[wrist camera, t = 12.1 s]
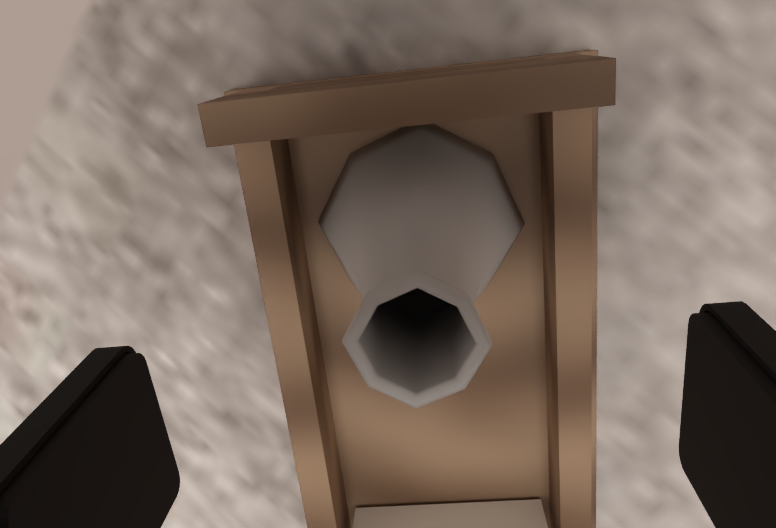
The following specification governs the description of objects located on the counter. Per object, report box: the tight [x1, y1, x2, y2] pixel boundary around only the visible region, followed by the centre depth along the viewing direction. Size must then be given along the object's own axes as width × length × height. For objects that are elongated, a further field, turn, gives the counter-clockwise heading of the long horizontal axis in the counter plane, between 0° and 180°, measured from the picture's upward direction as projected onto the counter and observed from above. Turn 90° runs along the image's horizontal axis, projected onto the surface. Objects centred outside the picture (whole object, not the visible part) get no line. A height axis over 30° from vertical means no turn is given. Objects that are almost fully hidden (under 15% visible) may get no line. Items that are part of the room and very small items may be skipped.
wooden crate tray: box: [198, 50, 616, 528], centre depth 23 cm, size 22×13×6 cm, turn 6°
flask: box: [318, 124, 525, 409], centre depth 19 cm, size 7×7×10 cm
